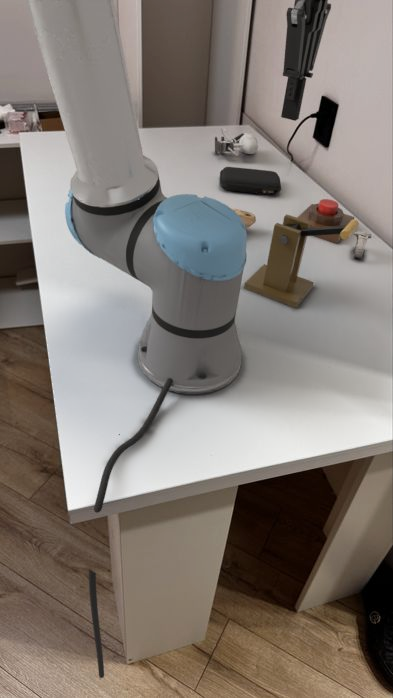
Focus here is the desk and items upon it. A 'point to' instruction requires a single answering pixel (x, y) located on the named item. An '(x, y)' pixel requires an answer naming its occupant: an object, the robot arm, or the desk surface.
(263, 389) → the desk surface
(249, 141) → the clip-on lamp
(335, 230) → the pivoting switch lever
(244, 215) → the pottery oil lamp
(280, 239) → the bracket
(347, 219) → the switch block
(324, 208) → the button
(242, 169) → the carrying case
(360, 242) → the wristwatch
